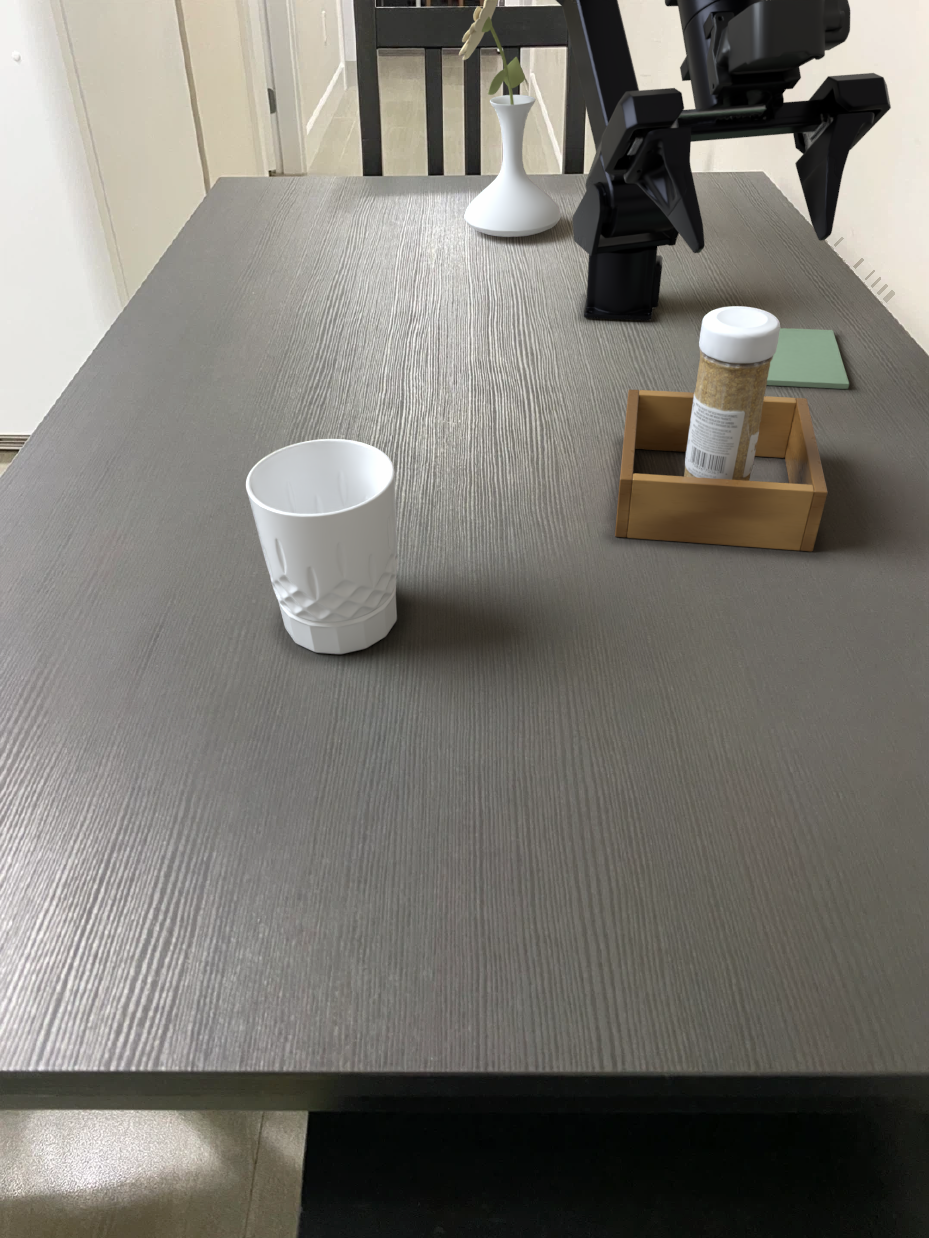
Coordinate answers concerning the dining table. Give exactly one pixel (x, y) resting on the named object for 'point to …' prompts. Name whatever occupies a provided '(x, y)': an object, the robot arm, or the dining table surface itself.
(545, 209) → the flower in vase
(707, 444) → the sprinkles bottle
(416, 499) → the dining table surface
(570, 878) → the dining table surface
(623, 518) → the wooden box
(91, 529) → the dining table surface
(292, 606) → the white cup
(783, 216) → the dining table surface
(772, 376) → the mat
